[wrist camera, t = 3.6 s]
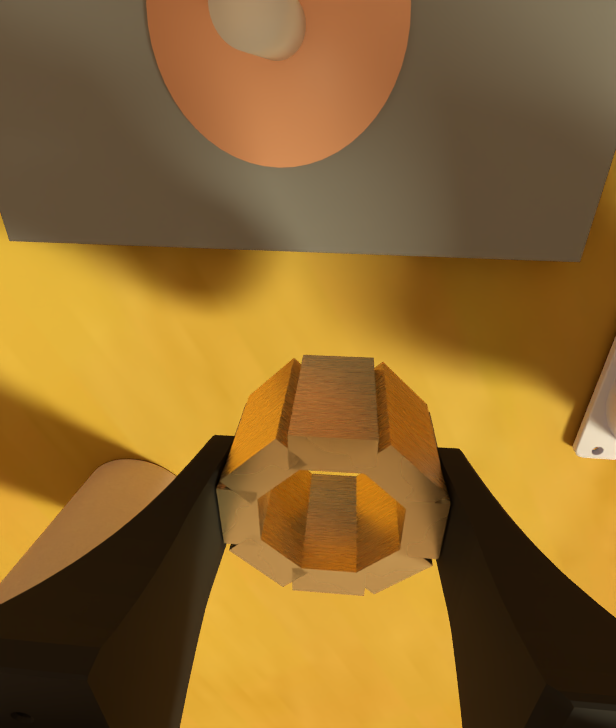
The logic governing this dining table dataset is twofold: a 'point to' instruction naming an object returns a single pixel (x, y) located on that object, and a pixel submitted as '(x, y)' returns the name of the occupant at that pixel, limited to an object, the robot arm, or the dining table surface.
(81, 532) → the coffee cup
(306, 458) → the wooden collar
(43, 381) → the dining table surface
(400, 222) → the post board
